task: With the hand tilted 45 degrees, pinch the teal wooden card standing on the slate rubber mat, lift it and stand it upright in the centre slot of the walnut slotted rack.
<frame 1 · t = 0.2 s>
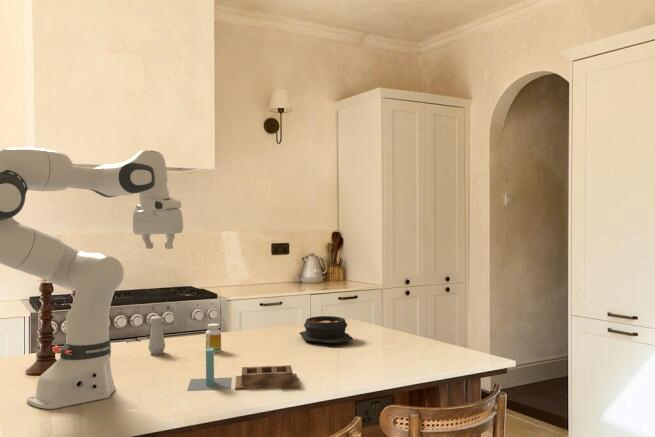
hand: (159, 248, 188), 39 cm above the counter, tool pointing down, fingers open, 8 cm apart
casserole: (325, 341, 235), on the counter
rack: (266, 383, 177), on the counter
card: (210, 383, 176), resting on mat
salt shaker: (156, 353, 216), on the counter
supplement bottle: (213, 352, 218), on the counter
mat: (210, 385, 176), on the counter
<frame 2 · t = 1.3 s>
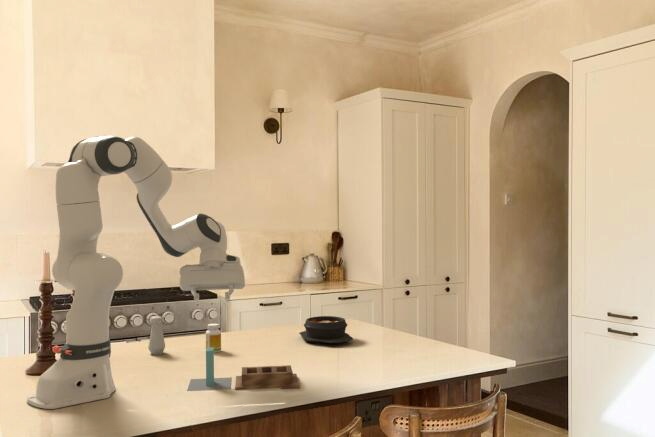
hand: (212, 299, 188), 23 cm above the counter, tool tilted 45°, fingers open, 8 cm apart
nothing on the counter moved.
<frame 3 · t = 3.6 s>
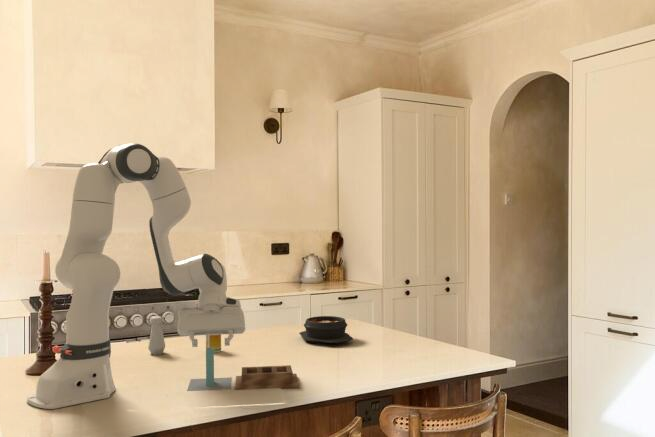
hand: (211, 345, 181), 10 cm above the counter, tool tilted 45°, fingers open, 8 cm apart
nothing on the counter moved.
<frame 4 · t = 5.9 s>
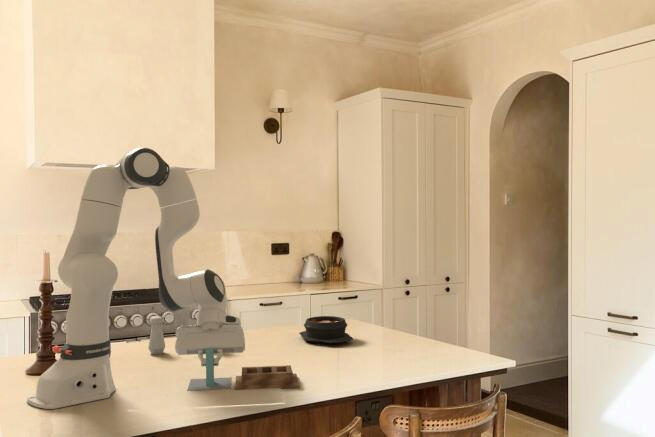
hand: (209, 365, 175), 6 cm above the counter, tool tilted 45°, fingers closed on card, 2 cm apart
card: (210, 383, 176), resting on mat, touching gripper
everything else where it was.
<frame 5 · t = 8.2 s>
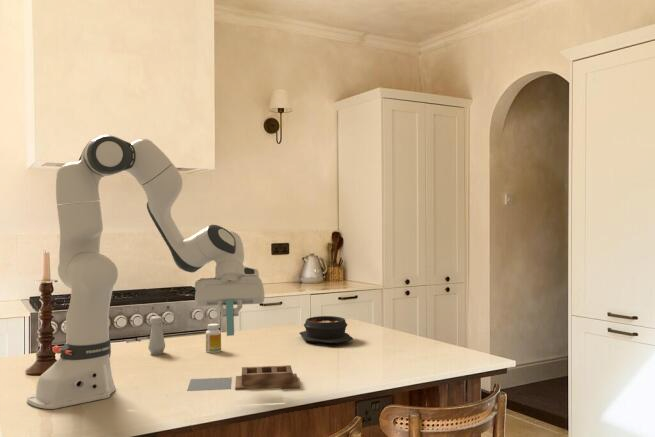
hand: (230, 315, 176), 20 cm above the counter, tool tilted 45°, fingers closed on card
card: (230, 334, 176), point 15 cm above the counter, touching gripper
everything else where it was.
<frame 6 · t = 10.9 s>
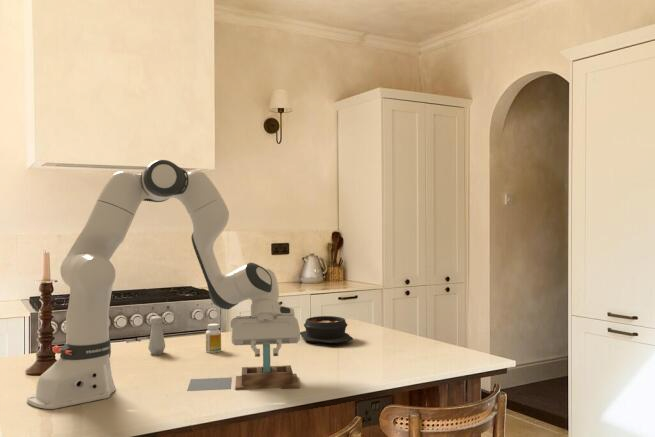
hand: (266, 355, 176), 8 cm above the counter, tool tilted 45°, fingers open, 4 cm apart
card: (266, 380, 177), point 1 cm above the counter, touching rack
everything else where it was.
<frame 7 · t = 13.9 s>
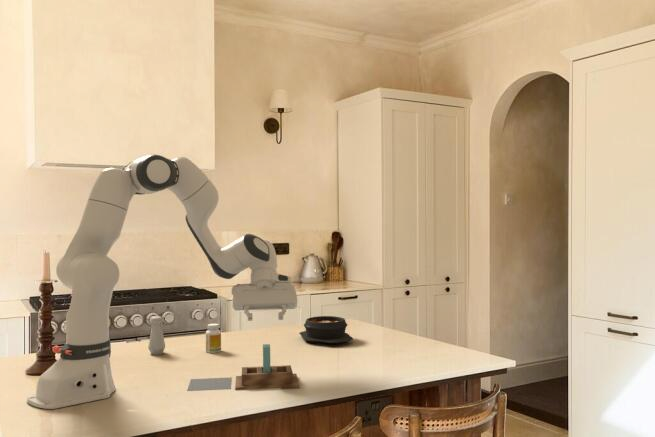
hand: (265, 319, 187), 17 cm above the counter, tool tilted 45°, fingers open, 8 cm apart
nothing on the counter moved.
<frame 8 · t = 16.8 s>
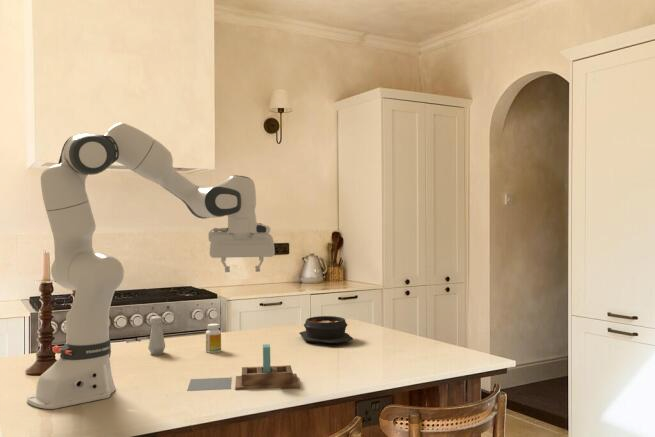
hand: (242, 271, 191), 31 cm above the counter, tool pointing down, fingers open, 8 cm apart
nothing on the counter moved.
at the end: card 0.0 cm off-centre on the rack, point 1.0 cm above the rack's base; card tilted 0°; the gripper is holding nothing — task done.
